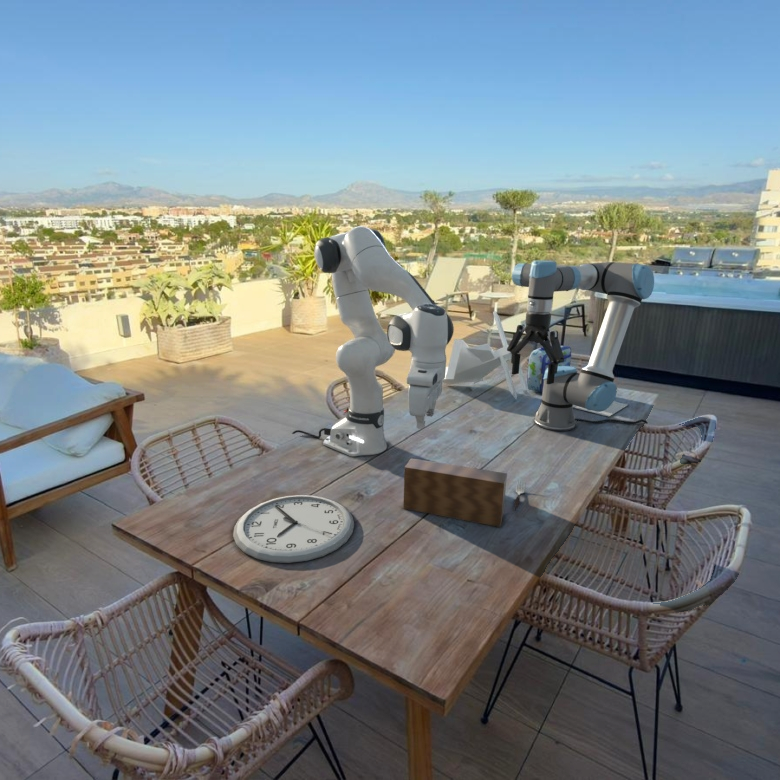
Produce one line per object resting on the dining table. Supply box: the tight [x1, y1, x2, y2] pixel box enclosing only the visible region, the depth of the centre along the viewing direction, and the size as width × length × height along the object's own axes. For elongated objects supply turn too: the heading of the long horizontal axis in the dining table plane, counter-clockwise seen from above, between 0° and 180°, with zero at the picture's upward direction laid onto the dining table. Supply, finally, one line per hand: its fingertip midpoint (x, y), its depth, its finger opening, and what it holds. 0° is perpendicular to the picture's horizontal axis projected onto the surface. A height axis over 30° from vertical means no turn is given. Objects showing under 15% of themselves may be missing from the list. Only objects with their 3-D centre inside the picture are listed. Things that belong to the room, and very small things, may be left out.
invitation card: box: [573, 400, 629, 418], centre depth 226 cm, size 21×1×15 cm
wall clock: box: [232, 494, 355, 564], centre depth 132 cm, size 30×2×30 cm
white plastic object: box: [442, 310, 531, 400], centre depth 245 cm, size 37×45×31 cm
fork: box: [514, 479, 527, 511], centre depth 147 cm, size 3×16×2 cm, turn 160°
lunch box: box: [526, 345, 572, 394], centre depth 247 cm, size 26×11×21 cm, turn 134°
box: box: [403, 458, 508, 528], centre depth 139 cm, size 26×6×12 cm, turn 71°
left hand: (425, 421), depth 136 cm, fingers open, 8 cm apart
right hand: (532, 378), depth 167 cm, fingers open, 13 cm apart
